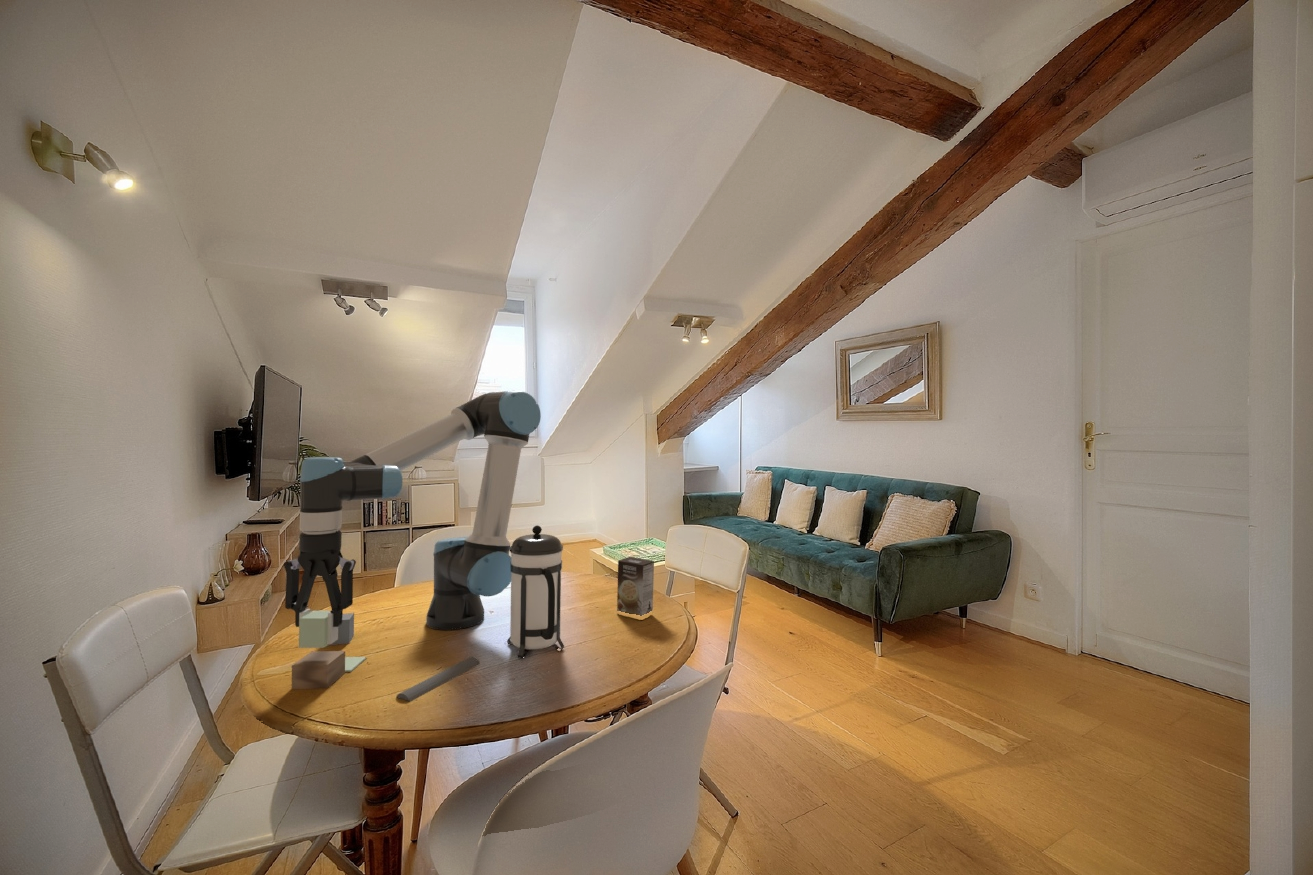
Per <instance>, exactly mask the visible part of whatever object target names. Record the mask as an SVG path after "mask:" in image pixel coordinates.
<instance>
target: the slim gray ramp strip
mask: <svg viewBox="0 0 1313 875" xmlns="http://www.w3.org/2000/svg"><path fill="white" fill-rule="evenodd" d="M479 665H480V661H479V659H478V658H477V657H476V656H469V657H468V658H465V659H463V660H462V661H459V662H458V663H456V664H454V665H452V666H450V667H448V668H446V669H444V670H442V671H440V672H438V673H437V674H434V675H433V676H431V677H429V678H427V679H425V680H423V681H421V682H419V683H417V684H415V685H413V686H412V687H409V688H407V689H405V690H403V691H401V692H399V693H398V694H397V695H396V698H398V699H400V700H405V701H408V702H413V701H414V700H416V699H418V698H419V697H422V696H423V695H426V694H427V693H429V692H431V691H433V690H434V689H436V688H438V687H441V686H442V685H444V684H445V683H447V682H449V681H452V680H453V679H454V678H457V677H458V676H460V675H462V674H464V673H465V672H467V671H469V670H471V669H473V668H475V667H477V666H479Z"/></svg>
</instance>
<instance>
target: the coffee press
mask: <svg viewBox="0 0 1313 875" xmlns="http://www.w3.org/2000/svg"><path fill="white" fill-rule="evenodd" d="M542 530H543V529H542V527H541V526H540V525H538V524H537V525H534V526H533V527H532V529H531V531H532V533H533V534H525V535H522V536H519V537H517V538H515V539H514V540H513V542H512V544H511V545H510V550H509V553H511V554H510V556H511V562H510V571H511V582H510V622H509V623H510V626H509V627H510V629H509V630H510V632H509V633H510V635H509V637H508V639H507V641H506V643H507V645H509V644H510V645H509V646H512V645H513V646H515V647H516V648H518V651H517V656H516V657H517V658H518V659H523V657H526V655H527V653H528V652H529V650H541V649H545V648H548V647H553V648H554V649H555V650H556V651H557V649H558V648H560V649H561V651H563V650H564V649H563V648H565V644H564V642H563V641H562V640H561V617H562V616H561V611H562V610H561V608H562V605H561V604H562V569H563V560H562V552H563V550H564V545H563V544H562V543H561V540H560V538H558V537H557V536H554V535H551V534H547V533H546V534H544V533H542ZM557 642H558V644H556V643H557ZM558 645H559V646H560V647H559V646H558ZM562 649H563V650H562Z"/></svg>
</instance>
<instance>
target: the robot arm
mask: <svg viewBox="0 0 1313 875" xmlns="http://www.w3.org/2000/svg"><path fill="white" fill-rule="evenodd" d="M541 416H542V415H541V409H540V405H539V404H538V402H537V400H536V399H535V398H534V396H533V395H531V394H530V393H528V392H526V391H521V390H513V389H511V390H506V391H492V392H487V393H486V392H485V393H484V394H481V395H479V396H477V397H474V398H472V399H471V400H469V401H467V402H465V403H463V404H461V405H459V406H457V407H454V408H453V409H452V410H451V412H450V414H449V415H447V416H444V417H442V418H440V419H438V420H436V421H433V422H431V423H430V424H427V425H425V426H423V427H421V428H419V429H416V430H415V431H412V432H410V433H408V434H406V435H404V436H402V437H400V438H397V439H395V440H394V441H391V442H388V443H386V444H385V445H382V446H380V447H379V448H376V449H374V450H372V451H370V452H367V453H365V454H363V455H361V456H359V457H357V458H355V459H353V460H351V461H344V460H343V458H341V457H335V456H334V457H331V456H325V457H321V456H315V457H313V456H311V457H307V458H304V459H303V460H302V463H301V470H300V479H299V482H300V490H299V491H300V492H299V493H300V495H299V496H300V508H299V509H300V511H299V528H298V529H299V531H300V532H301V533H300V534H299V537H298V538H299V539H298V540H299V541H298V544H299V545H298V549H299V555H298V556H297V557H296V558H293V559H290V560H287V561H285V562H284V563H283V568H284V571H285V596H284V597H285V599H284V601H285V602H284V607H285V609H287V610H292V611H294V613H295V623H294V626H295V627H296V628H299V621H300V618H301V617H303V616H305V615H307V614H308V613H310V612H312V608H309V606H310V605H308V604H309V600H310V597H311V593H312V590H313V586H314V583H315V579H316V578H317V577H318V576H319V577H321V578H322V581H323V582H324V583H325V588H326V592H327V594H328V595H327V596H328V600H329V604H330V608H331V610H329V611H330V612H329V613H328V638H327V644H332V643H333V642H335V641H336V640H338V626H340V625H341V624H342V616H343V614H344V613H343V610H346V609H347V608H349V607H351V606H352V605H353V604H354V601H353V599H354V596H353V595H354V592H353V591H354V586H353V585H354V584H353V583H354V569H355V566H356V564H357V561H356V559H347V558H345V557H344V556H343V555H342V552H341V550H342V535H343V534H342V531H341V530H340V529H341V528H342V525H343V524H342V523H343V522H342V520H343V519H342V518H343V503H344V502H345V501H346V502H350V501H361V500H362V501H364V500H381V499H382V500H385V499H392V498H396V497H397V496H399V495H400V494H401V492H402V489H403V482H404V481H403V475H402V472H401V471H404V470H405V469H408V468H409V467H412V466H414V465H415V464H417V463H419V462H421V461H423V460H425V459H426V458H429V457H431V456H433V455H434V454H436V453H438V452H441V451H443V450H445V449H447V448H449V447H450V446H453V445H455V444H457V443H459V442H460V441H463V440H466V441H470V440H472V439H474V438H477V437H479V436H483V435H484V436H483V438H484V439H485V440H486V441H487V443H488V444H487V445H488V446H487V453H486V457H485V461H484V468H483V473H482V480H481V485H480V490H479V497H478V500H477V507H476V512H475V518H474V522H473V527H472V528H473V529H472V533H471V534H470V535H468V536H462V537H461V536H460V537H452V538H445V539H440V540H438V541H436V542H435V544H434V549H433V596H432V598H431V601H430V605H429V607H428V610H427V613H426V616H425V617H426V619H425V620H426V622H425V623H426V626H427V627H429V628H431V629H434V630H439V631H441V630H442V631H452V630H460V629H467V628H470V627H473V626H476V625H478V624H480V623H482V622H483V621H484V619H485V608H484V605H483V601H482V600H481V597H494V596H497V595H498V594H499V595H500V593H502V592H503V591H504V590H505V589H507V588H508V587H509V585H511V571H510V562H511V555H510V547H511V542H510V541H509V539H508V538H507V534H508V533H507V532H508V527H509V522H510V515H511V510H512V505H513V498H514V493H515V486H516V481H517V475H518V471H519V465H520V457H521V453H522V449H523V448H524V447H525V446H527V445H528V444H529V438H530V434H532V433H533V432H534V431H535V430H537V429H538V426H539V425H540V422H541ZM339 565H340V567H339V568H340V570H341V572H340V584H339V580H338V575H339V574H338V570H337V568H338V566H339ZM300 567H301V568H302V569H303V573H302V575H301V576H302V577H301V580H302V581H301V585H300ZM299 587H300V588H299Z"/></svg>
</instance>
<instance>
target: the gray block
mask: <svg viewBox="0 0 1313 875" xmlns="http://www.w3.org/2000/svg"><path fill="white" fill-rule="evenodd" d="M354 637H355V612H351V613H343V616H342V624H341V625H340V626H338V640H336V641H335V642H333V643H332V644H329V645H327V646H337V644H339V645H347V644H350V643H351V642H350V641H352V640H353V639H354ZM327 646H326V647H327Z"/></svg>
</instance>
